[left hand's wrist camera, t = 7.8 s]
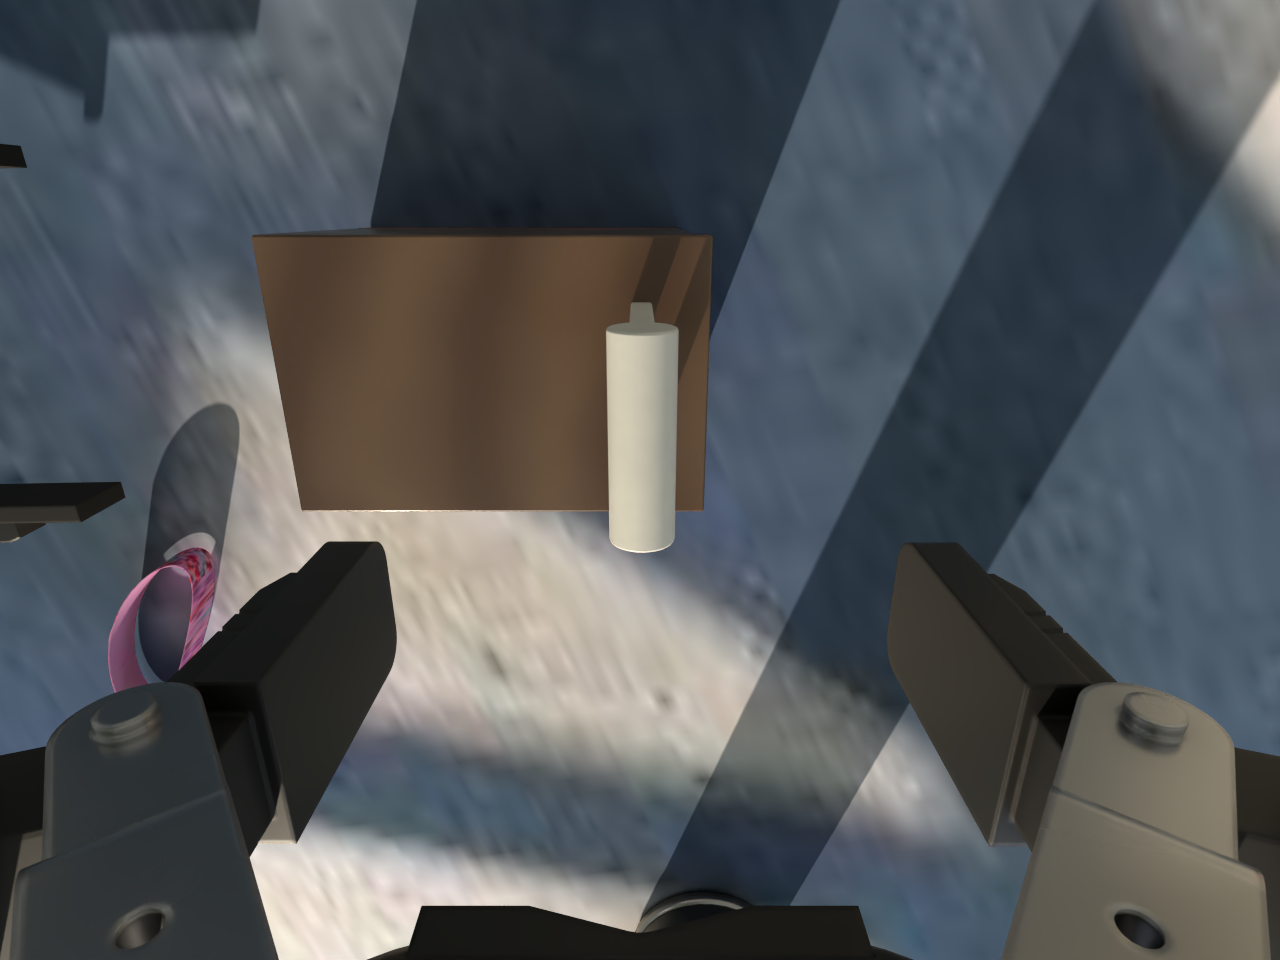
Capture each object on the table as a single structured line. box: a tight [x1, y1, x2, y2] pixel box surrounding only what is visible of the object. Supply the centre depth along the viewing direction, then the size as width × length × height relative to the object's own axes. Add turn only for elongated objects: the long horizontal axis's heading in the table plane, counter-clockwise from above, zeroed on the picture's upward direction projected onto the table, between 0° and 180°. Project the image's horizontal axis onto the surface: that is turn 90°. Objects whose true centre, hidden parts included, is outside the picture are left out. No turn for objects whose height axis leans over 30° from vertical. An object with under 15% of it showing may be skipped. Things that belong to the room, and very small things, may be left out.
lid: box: [252, 234, 713, 552], centre depth 22 cm, size 15×10×9 cm, turn 90°
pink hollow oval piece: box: [108, 548, 215, 693], centre depth 39 cm, size 11×4×2 cm, turn 157°
